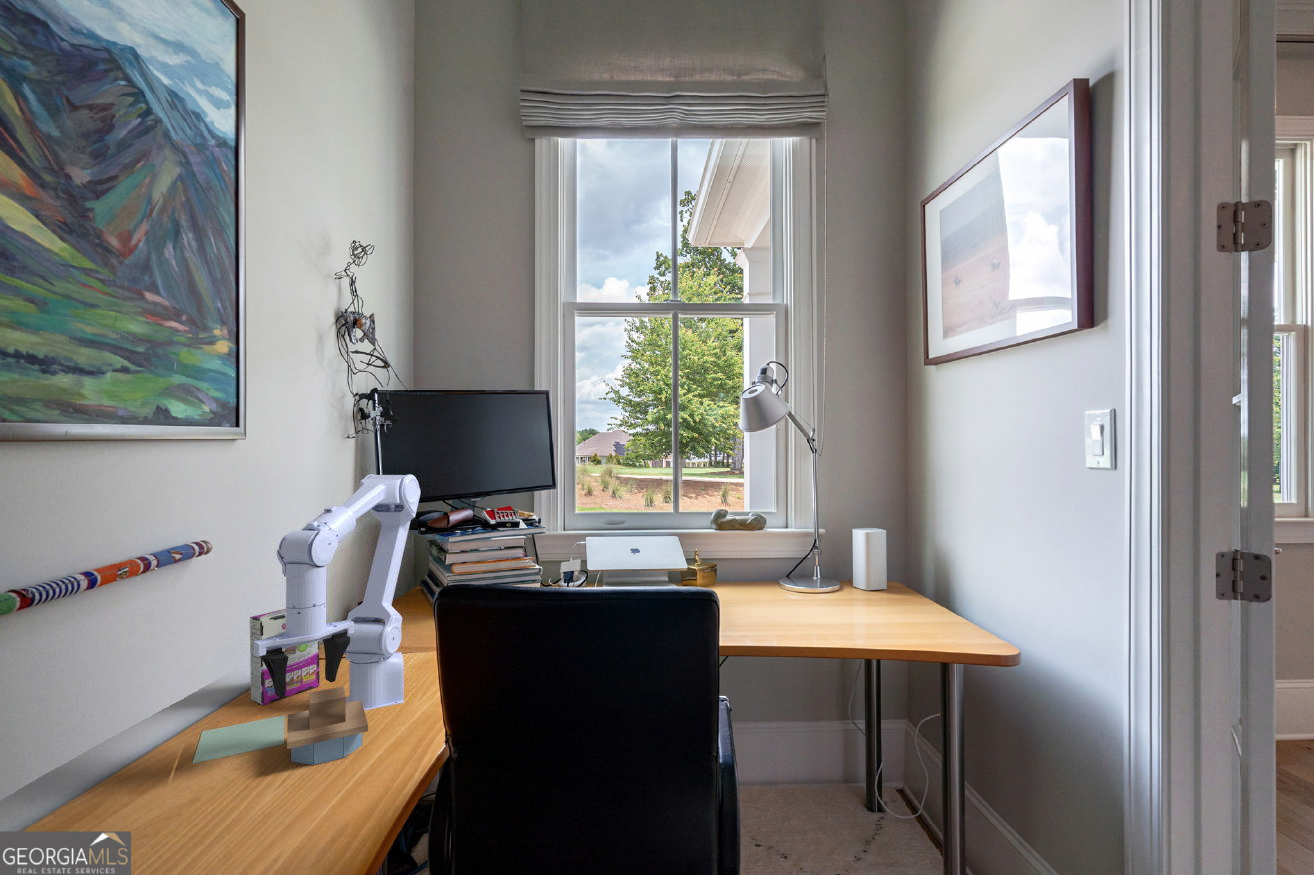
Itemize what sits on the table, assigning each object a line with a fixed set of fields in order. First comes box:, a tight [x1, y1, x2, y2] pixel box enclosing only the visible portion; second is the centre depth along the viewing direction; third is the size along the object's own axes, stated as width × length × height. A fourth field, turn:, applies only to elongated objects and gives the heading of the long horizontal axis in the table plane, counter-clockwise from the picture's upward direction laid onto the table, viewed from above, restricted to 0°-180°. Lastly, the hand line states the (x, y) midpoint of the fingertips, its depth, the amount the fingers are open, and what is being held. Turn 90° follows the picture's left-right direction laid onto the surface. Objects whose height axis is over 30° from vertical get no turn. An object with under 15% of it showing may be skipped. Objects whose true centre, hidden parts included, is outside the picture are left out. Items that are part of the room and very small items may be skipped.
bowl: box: [290, 733, 363, 766], centre depth 99 cm, size 10×10×4 cm
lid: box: [286, 686, 369, 750], centre depth 99 cm, size 11×11×5 cm
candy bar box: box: [249, 608, 321, 706], centre depth 122 cm, size 11×5×16 cm, turn 148°
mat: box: [192, 714, 286, 765], centre depth 102 cm, size 12×12×1 cm
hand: (306, 687), depth 99 cm, fingers open, 7 cm apart
